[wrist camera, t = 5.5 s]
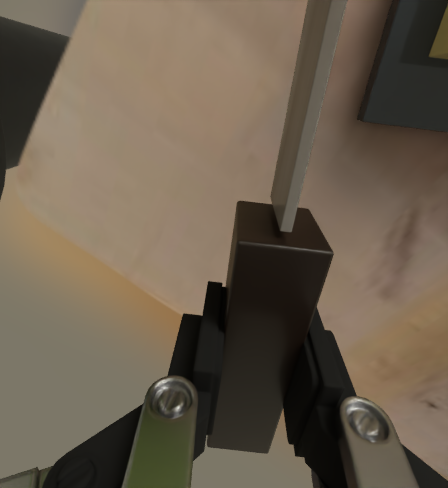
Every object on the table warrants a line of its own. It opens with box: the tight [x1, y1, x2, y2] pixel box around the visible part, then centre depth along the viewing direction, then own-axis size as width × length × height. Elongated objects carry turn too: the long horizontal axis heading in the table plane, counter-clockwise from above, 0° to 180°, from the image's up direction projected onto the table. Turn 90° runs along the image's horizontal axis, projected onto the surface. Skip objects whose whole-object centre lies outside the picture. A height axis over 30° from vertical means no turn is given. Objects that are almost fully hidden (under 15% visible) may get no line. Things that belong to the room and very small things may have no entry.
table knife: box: [207, 0, 347, 453], centre depth 8 cm, size 2×19×3 cm, turn 174°
